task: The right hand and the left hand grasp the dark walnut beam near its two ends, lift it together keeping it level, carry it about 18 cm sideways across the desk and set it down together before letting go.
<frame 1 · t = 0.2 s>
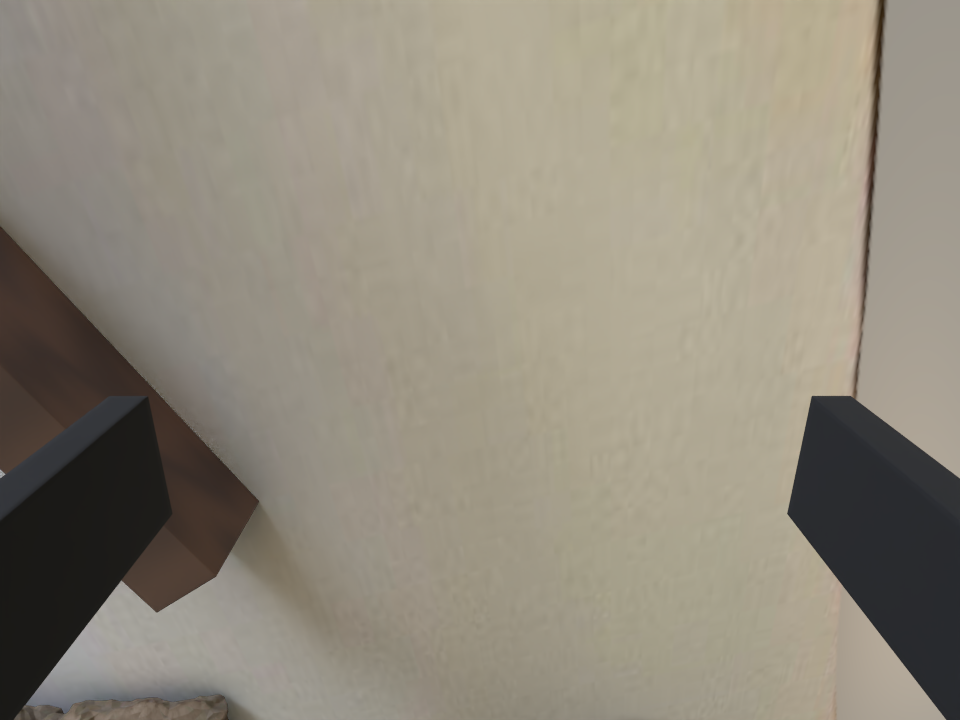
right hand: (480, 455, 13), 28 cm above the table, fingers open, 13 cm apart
walnut beam: (80, 359, 42), on the table
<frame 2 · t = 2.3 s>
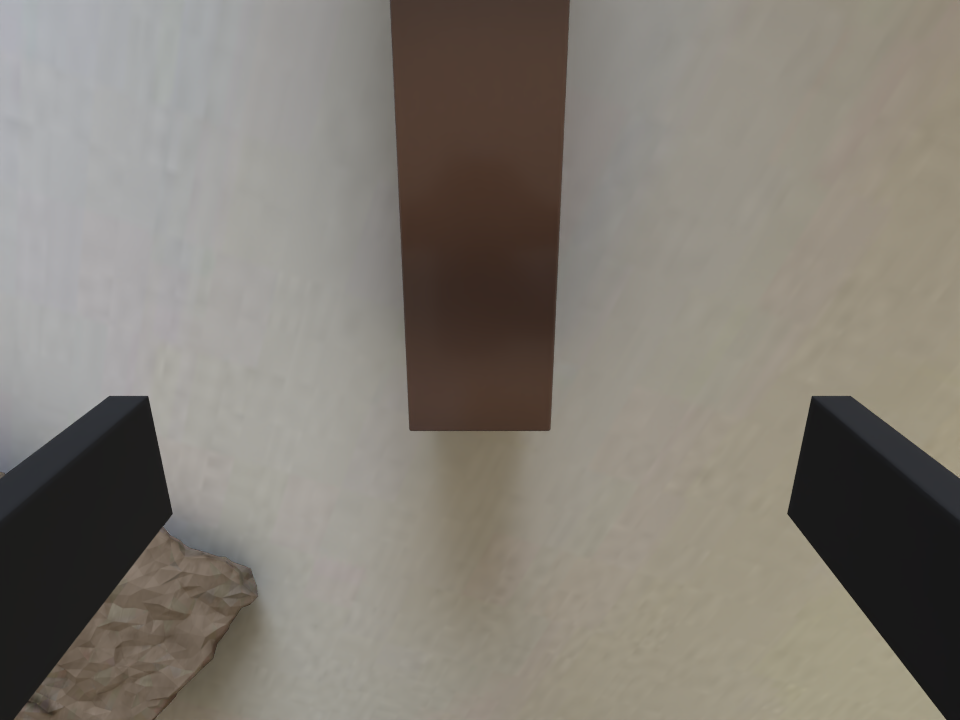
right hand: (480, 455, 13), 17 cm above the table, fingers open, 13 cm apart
stone: (48, 552, 34), on the table
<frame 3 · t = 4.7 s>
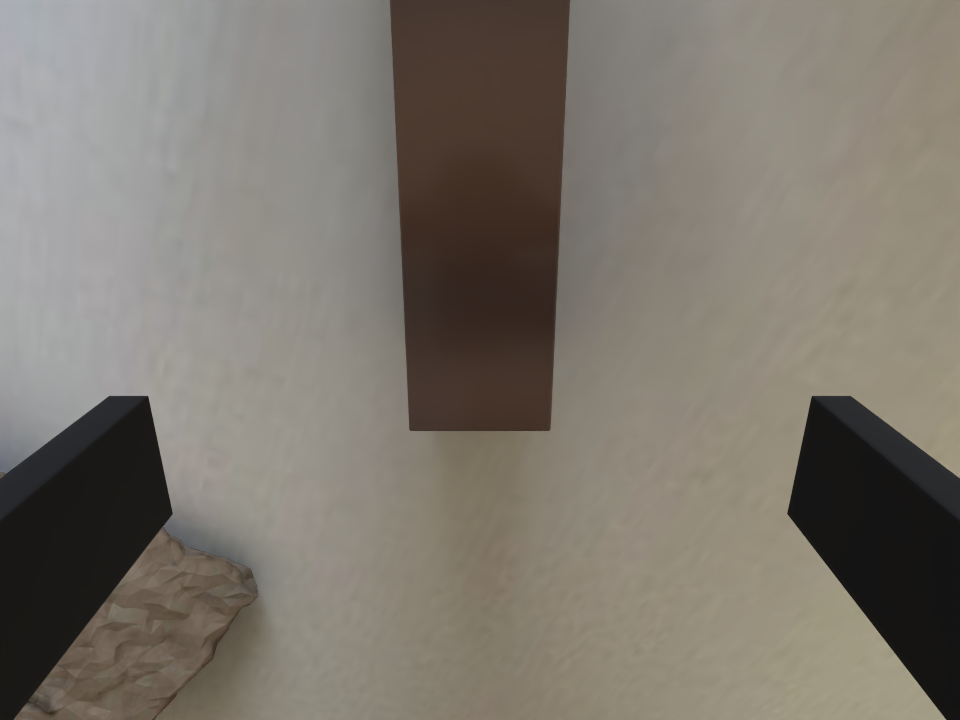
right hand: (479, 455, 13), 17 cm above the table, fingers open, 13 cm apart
stone: (48, 552, 34), on the table
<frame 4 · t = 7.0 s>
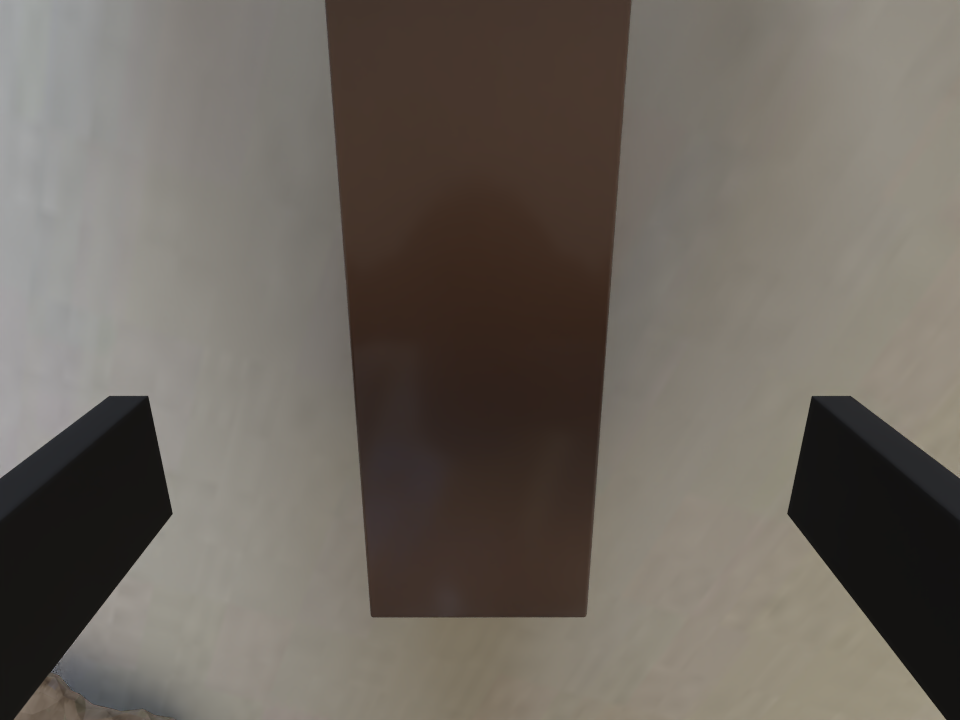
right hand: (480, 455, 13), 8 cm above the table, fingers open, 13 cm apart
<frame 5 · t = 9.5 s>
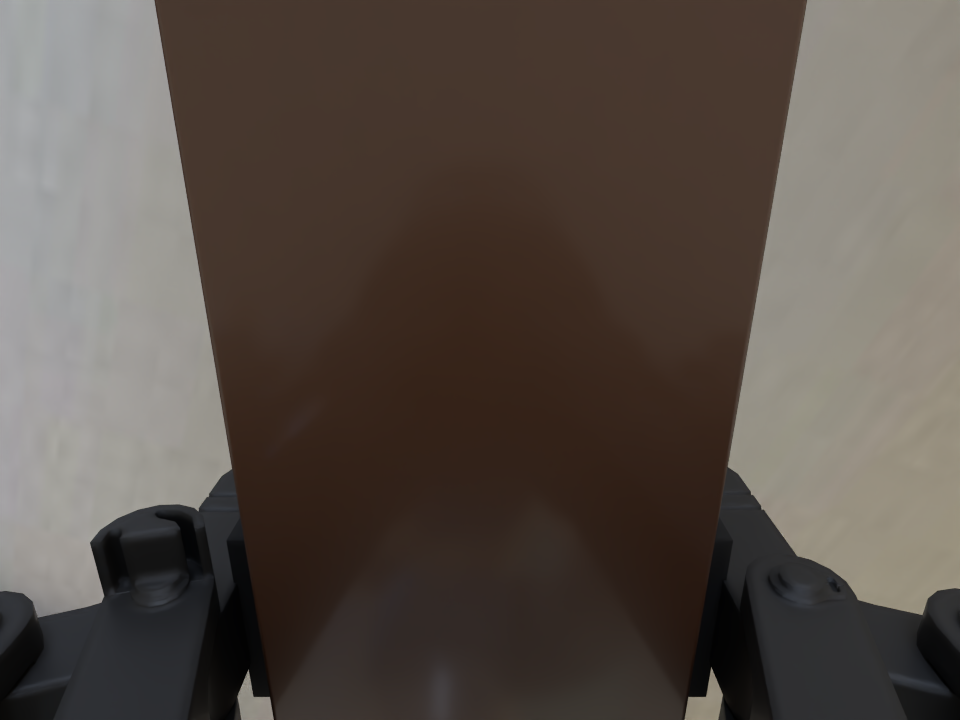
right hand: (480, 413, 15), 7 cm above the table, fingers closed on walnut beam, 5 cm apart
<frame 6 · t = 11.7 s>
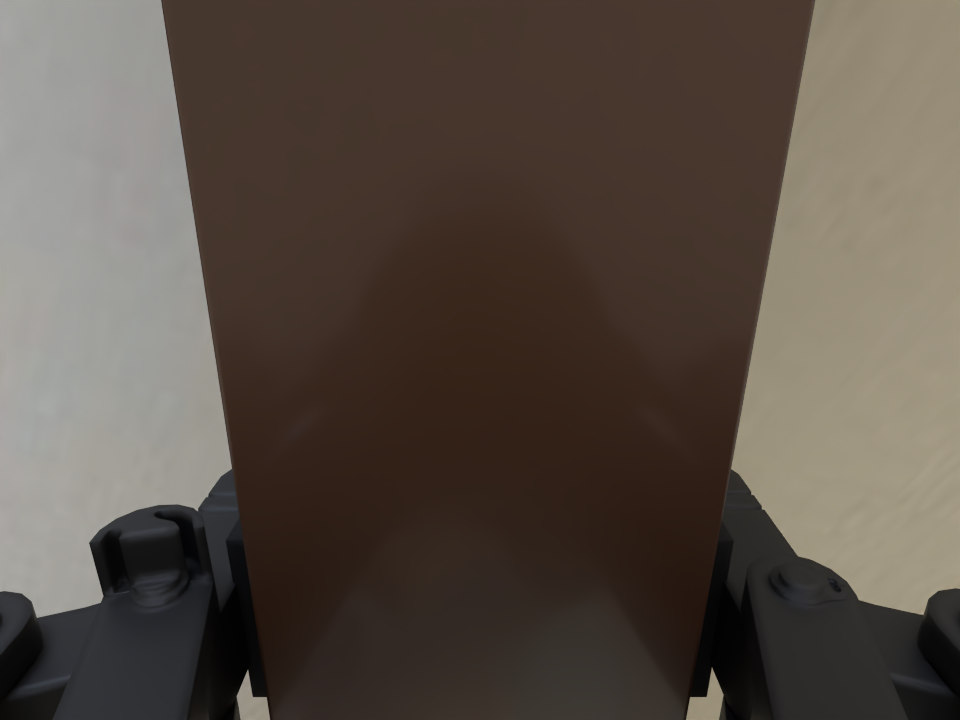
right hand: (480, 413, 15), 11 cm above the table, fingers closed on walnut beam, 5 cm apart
when the left hand's fingers open (0 cm above the table, at t = 14.4 s): walnut beam stays where it is, on the table.
when the right hand's fingers open (0 cm above the table, at t = 14.4 s): walnut beam stays where it is, on the table.
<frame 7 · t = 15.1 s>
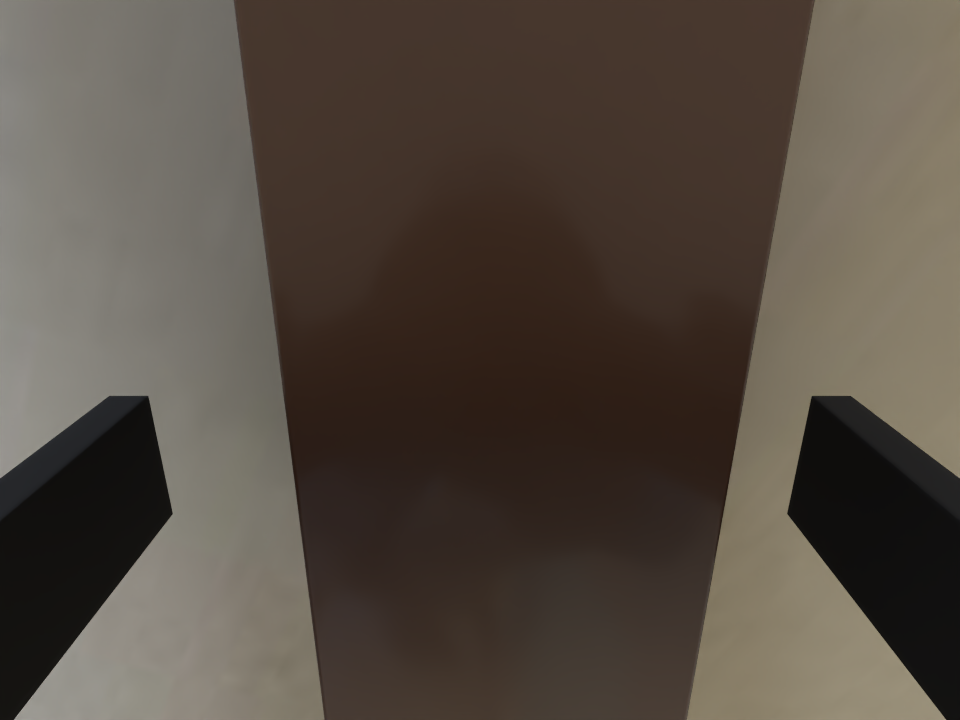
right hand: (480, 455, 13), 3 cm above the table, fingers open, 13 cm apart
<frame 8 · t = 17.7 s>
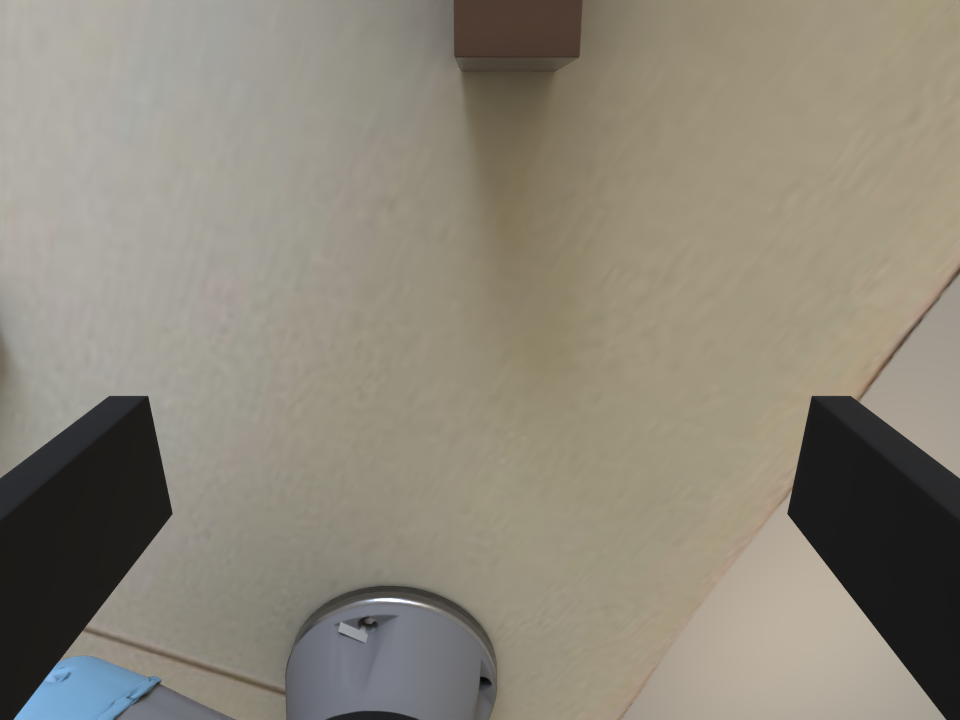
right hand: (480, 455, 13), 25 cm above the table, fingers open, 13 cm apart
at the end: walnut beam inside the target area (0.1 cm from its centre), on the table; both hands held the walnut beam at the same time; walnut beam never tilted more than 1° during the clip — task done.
